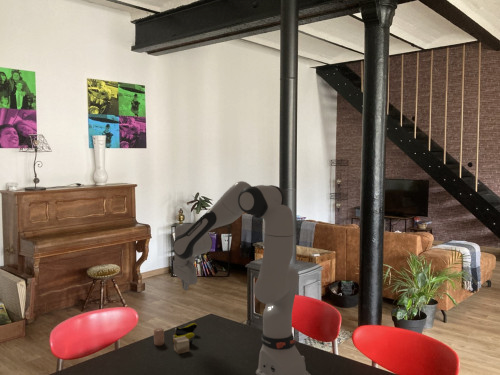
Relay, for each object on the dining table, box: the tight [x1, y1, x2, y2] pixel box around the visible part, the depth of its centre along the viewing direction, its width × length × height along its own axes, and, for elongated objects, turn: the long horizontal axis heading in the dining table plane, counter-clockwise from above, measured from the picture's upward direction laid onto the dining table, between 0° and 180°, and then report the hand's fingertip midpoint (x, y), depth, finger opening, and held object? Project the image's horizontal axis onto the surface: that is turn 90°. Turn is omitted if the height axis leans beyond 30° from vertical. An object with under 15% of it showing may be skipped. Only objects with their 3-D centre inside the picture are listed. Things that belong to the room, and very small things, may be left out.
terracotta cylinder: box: [153, 327, 165, 347], centre depth 203 cm, size 4×4×6 cm
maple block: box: [173, 336, 190, 355], centre depth 196 cm, size 5×5×5 cm
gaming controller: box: [172, 322, 198, 343], centre depth 207 cm, size 15×6×10 cm
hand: (185, 289), depth 206 cm, fingers closed
